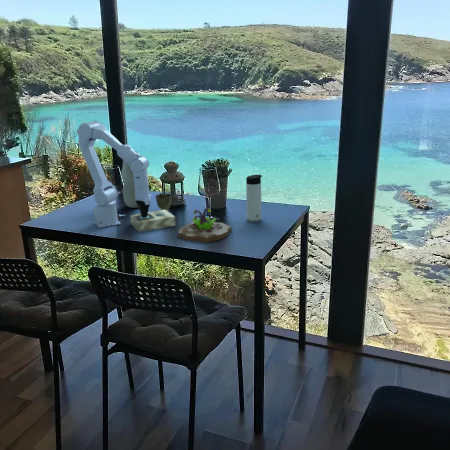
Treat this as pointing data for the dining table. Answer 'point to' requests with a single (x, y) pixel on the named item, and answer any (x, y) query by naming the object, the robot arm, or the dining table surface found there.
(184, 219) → the dining table surface
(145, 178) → the robot arm
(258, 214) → the travel mug
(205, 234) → the plant
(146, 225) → the socket block
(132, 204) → the pale grey bottle
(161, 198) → the cup
